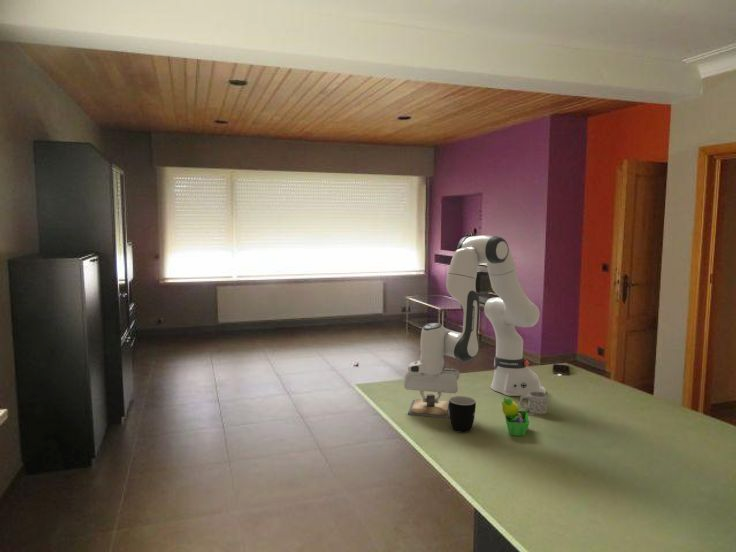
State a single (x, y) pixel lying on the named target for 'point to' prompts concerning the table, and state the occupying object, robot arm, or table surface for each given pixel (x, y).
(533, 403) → the mug
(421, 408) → the lid
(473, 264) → the robot arm
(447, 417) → the mat
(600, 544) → the table surface
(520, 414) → the fruit basket
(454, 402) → the mug
